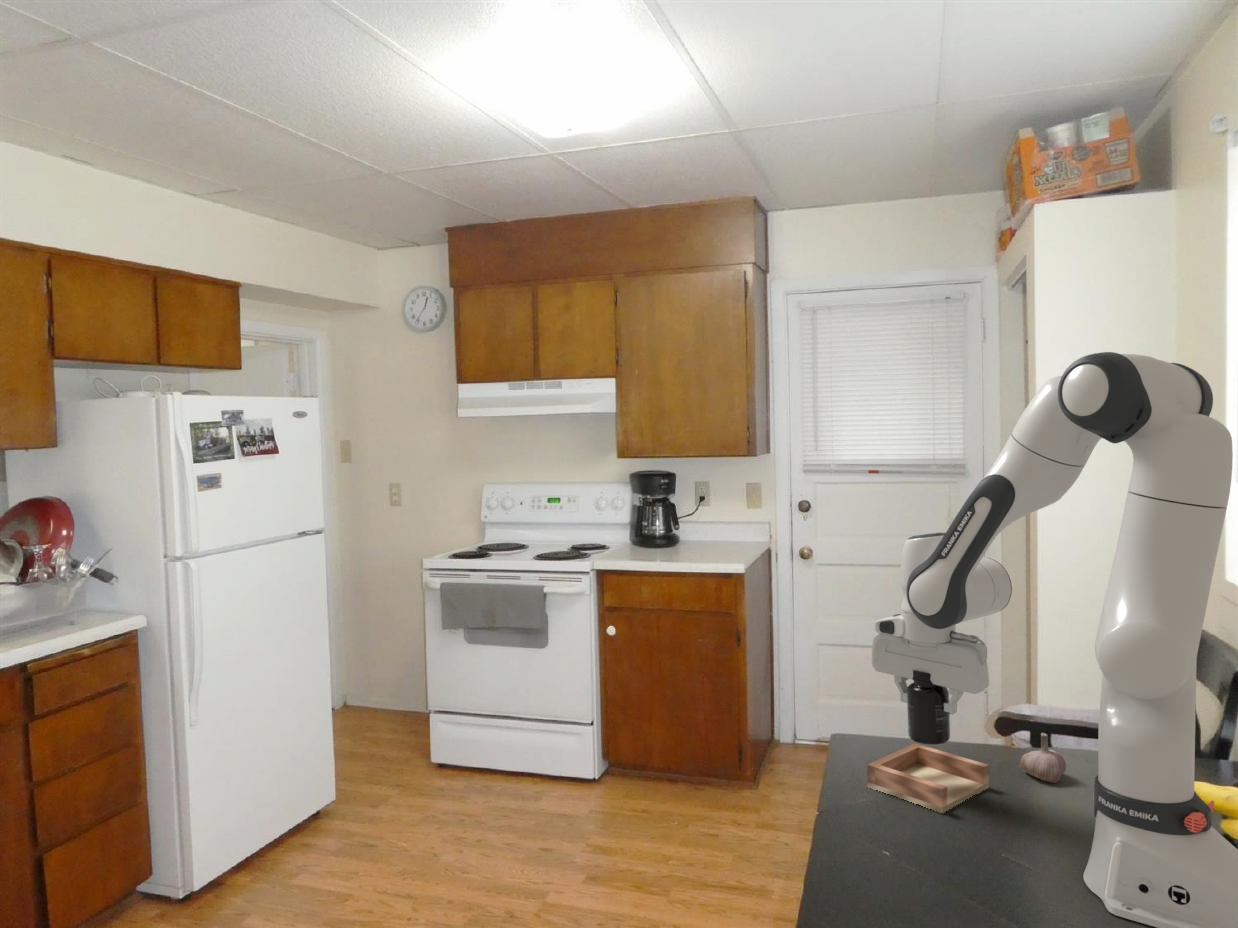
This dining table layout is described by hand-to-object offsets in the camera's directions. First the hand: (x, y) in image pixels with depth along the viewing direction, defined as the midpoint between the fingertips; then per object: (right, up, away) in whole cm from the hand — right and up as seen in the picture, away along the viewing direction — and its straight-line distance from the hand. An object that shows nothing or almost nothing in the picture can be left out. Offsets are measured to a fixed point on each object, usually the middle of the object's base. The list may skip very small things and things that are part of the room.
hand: (928, 707), depth 153 cm
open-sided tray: (0, -14, +1) cm, 14 cm away
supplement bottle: (0, -6, 0) cm, 6 cm away
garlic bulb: (+22, -14, +5) cm, 26 cm away
